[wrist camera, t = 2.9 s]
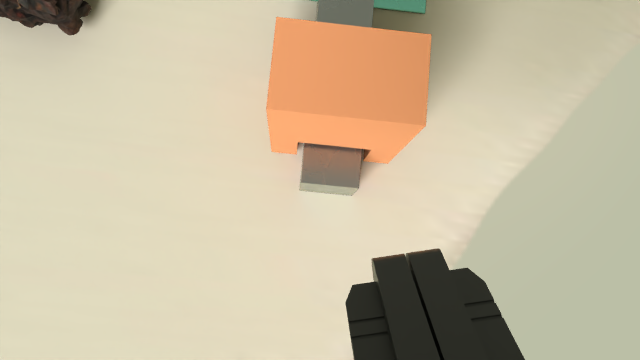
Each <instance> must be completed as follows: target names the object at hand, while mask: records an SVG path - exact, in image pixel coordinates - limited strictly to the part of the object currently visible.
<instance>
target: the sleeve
mask: <svg viewBox="0 0 640 360" xmlns="http://www.w3.org/2000/svg"><path fill="white" fill-rule="evenodd" d="M430 50H431V34H422V33H414V32H405V31H396V30H387V29H378V28H370V27H361V26H352V25H343V24H334V23H325V22H317V21H308V20H299V19H290V18H281V17H276V26H275V35H274V44H273V53H272V62H271V71H270V80H269V89H268V98H267V107H266V110H267V118H268V126H269V134H270V141H271V149H272V152H279V153H289V154H297V145H298V142H301V143H311V144H321V145H330V146H340V147H350V148H360V149H364V158H363V161H368V162H377V163H387V164H388V163H389V162H390V161H391V160H392V159H393V158H394V157H395V156H396V155H397V154H398V153H399V152H400V151H401V150H402V149H403V148H404V147H405V146H406V145H407V144H408V143H409V142H410V141H411V140H412V139H413V138H414V137H415V136H416V135H417V134H418V133H419V132H420V131H421V130H422V129H423V128H424V127H425V126H426V114H427V98H428V82H429V66H430Z"/></svg>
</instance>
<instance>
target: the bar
mask: <svg viewBox="0 0 640 360" xmlns="http://www.w3.org/2000/svg"><path fill="white" fill-rule="evenodd" d="M311 1H318V6H317V16H316V21H317V22H325V23H334V24H343V25H352V26H361V27H370V28H372V19H373V8H381V9H389V10H398V11H407V12H415V13H424V14H425V7H426V0H311ZM361 155H362V149H360V148H350V147H340V146H330V145H321V144H311V143H304V149H303V159H302V169H301V179H300V189H299V190H300V191H310V192H320V193H330V194H341V195H351V196H352V195H353V194H354V193H355V192H356V191H357V190H358V189H359V180H360V168H361Z"/></svg>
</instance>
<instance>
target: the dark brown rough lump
mask: <svg viewBox="0 0 640 360" xmlns="http://www.w3.org/2000/svg"><path fill="white" fill-rule="evenodd" d="M90 10H91V6H90V5H89V4H88V3H87V2H85V1H84V0H0V17H6V18H9V19H11V20H12V21H19V22H20V23H21V24H23V25H24V26H27V27H30V28H33V27H34V26H36V25H39V26H40V25H42V24H43V23H50V24H56V25H58V27H59V28H60V29H61V30H62V31H63V32H65V33H66V34H68V35H74V34H77V33H78V32H79V30H80V27H81V26H82V23H83V21H82V20H81V19H80V18H81V17H84V16H87V15H88V14H89V12H90Z"/></svg>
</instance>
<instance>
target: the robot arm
mask: <svg viewBox="0 0 640 360" xmlns="http://www.w3.org/2000/svg"><path fill="white" fill-rule="evenodd" d="M372 269H373V278H374V282H370V283H363V284H356V285H352V288H351V290H350V293H349V295H348V298H347V300H346V309H347V316H348V323H349V329H350V336H351V343H352V349H353V356H354V360H525V359H524V357H523V355H522V353H521V351H520V349H519V347H518V345H517V344H516V342H515V340H514V338H513V336H512V334H511V332H510V330H509V328H508V326H507V324H506V322H505V320H504V318H502V316H501V312H500V310H499V309H498V307H497V305H496V303H494V299H493V297H492V295H491V293H490V291H489V289H488V287H487V285H486V283H485V282H484V281H483V280H482V279H481V278H479V277H478V276H477V275H476V274H475V273H473V272H472V271H471V270H470V269H468V268H463V269H456V270H449V268H448V266H447V264H446V262H445V259H444V257H443V255H442V252H441V251H440V249H431V250H425V251H418V252H411V253H406V256H405V255H404V254H399V255H392V256H386V257H379V258H372Z"/></svg>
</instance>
